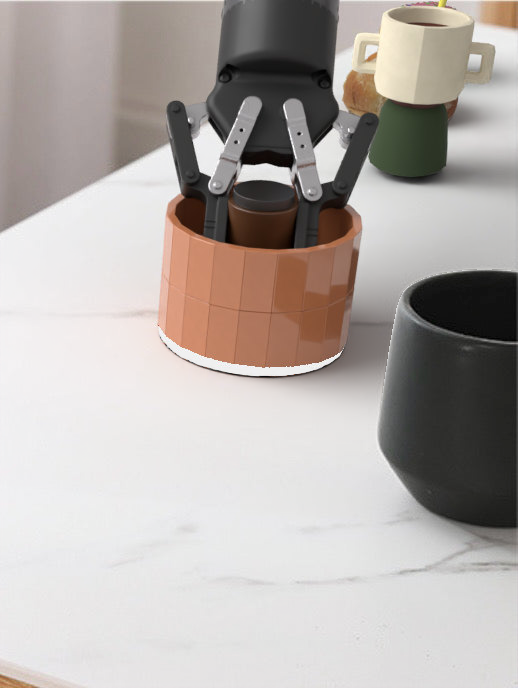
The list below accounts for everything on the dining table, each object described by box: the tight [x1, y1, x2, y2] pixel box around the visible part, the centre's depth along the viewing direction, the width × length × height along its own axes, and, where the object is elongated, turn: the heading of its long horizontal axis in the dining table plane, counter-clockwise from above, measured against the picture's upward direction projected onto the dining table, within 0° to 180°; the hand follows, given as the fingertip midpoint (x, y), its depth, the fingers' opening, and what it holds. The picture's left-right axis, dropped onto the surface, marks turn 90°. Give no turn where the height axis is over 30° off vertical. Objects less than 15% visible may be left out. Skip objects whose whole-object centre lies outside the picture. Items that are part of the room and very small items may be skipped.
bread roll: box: [341, 51, 459, 121], centre depth 143 cm, size 10×10×8 cm
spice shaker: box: [225, 179, 298, 250], centre depth 101 cm, size 4×4×8 cm
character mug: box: [351, 5, 496, 178], centre depth 128 cm, size 11×7×13 cm, turn 69°
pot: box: [157, 181, 363, 368], centre depth 102 cm, size 12×12×8 cm
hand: (258, 259), depth 99 cm, fingers closed on spice shaker, 4 cm apart
